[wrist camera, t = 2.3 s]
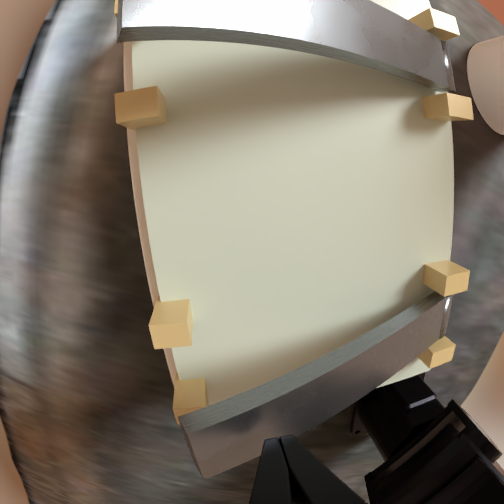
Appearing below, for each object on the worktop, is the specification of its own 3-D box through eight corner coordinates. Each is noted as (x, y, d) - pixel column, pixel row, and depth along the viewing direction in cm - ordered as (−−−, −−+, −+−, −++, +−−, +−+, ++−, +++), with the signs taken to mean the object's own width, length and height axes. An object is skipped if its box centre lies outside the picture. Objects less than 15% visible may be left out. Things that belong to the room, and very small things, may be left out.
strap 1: (432, 46, 11) (449, 44, 10) (439, 92, 12) (457, 91, 11) (119, -33, 5) (128, -55, 4) (115, 44, 5) (122, 25, 5)
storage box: (393, 332, 22) (451, 391, 14) (187, 369, 20) (183, 456, 13) (384, 22, 15) (454, -20, 8) (143, 20, 14) (112, -51, 7)
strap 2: (439, 286, 14) (454, 292, 13) (432, 327, 15) (447, 333, 14) (176, 414, 8) (189, 436, 7) (193, 461, 9) (205, 481, 8)
